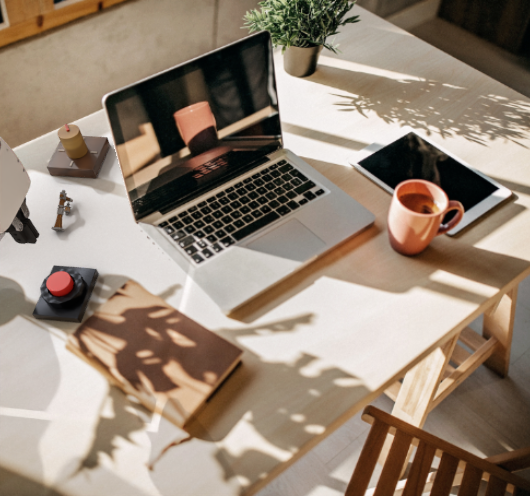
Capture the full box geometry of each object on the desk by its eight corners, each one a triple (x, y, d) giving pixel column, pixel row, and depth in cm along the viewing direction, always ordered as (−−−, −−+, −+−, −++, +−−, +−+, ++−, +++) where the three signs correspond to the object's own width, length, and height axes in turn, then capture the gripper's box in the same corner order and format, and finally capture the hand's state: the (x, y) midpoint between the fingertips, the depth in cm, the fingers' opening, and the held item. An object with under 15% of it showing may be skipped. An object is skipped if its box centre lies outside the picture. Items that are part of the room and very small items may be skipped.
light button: (46, 295, 83) (42, 290, 82) (55, 275, 85) (51, 270, 84) (69, 297, 83) (65, 292, 81) (77, 277, 85) (73, 272, 84)
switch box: (35, 319, 84) (27, 309, 81) (57, 270, 90) (49, 259, 87) (81, 323, 83) (73, 313, 81) (99, 273, 89) (93, 262, 86)
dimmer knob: (90, 154, 104) (80, 133, 99) (69, 161, 103) (59, 140, 98) (85, 141, 106) (76, 120, 101) (65, 148, 105) (54, 127, 100)
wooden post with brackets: (76, 195, 99) (66, 188, 95) (70, 234, 98) (59, 229, 93) (68, 195, 99) (57, 188, 95) (61, 234, 98) (50, 228, 93)
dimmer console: (50, 175, 104) (46, 166, 102) (67, 143, 110) (63, 133, 108) (96, 178, 103) (92, 169, 101) (110, 145, 109) (107, 136, 107)
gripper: (-36, 104, 63) (24, 199, 78) (-99, 191, 54) (-18, 279, 69) (20, 107, 62) (69, 202, 77) (-35, 196, 54) (33, 284, 69)
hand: (28, 238), depth 73 cm, fingers closed
